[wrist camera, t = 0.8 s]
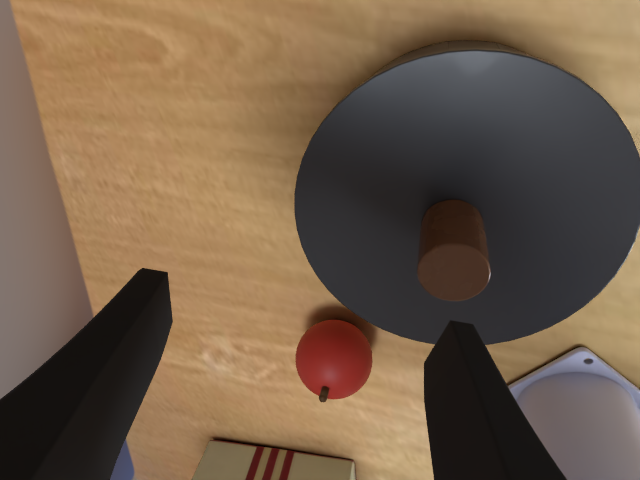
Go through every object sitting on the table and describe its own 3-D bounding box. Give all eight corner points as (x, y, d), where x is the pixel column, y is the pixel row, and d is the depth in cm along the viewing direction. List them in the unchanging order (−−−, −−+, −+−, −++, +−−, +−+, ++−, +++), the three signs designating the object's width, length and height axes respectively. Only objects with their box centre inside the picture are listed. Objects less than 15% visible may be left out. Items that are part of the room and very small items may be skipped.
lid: (719, 204, 17) (799, 274, 13) (453, 370, 25) (455, 445, 21) (446, -46, 15) (448, -49, 11) (248, 220, 23) (209, 273, 19)
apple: (391, 334, 31) (382, 406, 26) (347, 368, 34) (331, 439, 29) (333, 291, 30) (311, 357, 25) (293, 330, 33) (266, 396, 28)
